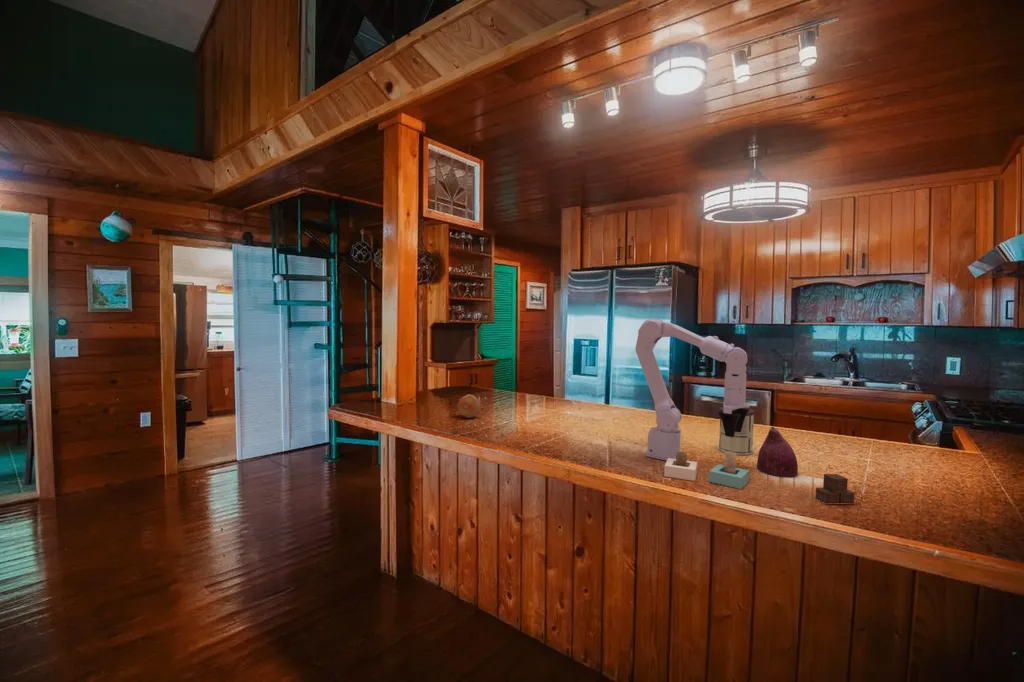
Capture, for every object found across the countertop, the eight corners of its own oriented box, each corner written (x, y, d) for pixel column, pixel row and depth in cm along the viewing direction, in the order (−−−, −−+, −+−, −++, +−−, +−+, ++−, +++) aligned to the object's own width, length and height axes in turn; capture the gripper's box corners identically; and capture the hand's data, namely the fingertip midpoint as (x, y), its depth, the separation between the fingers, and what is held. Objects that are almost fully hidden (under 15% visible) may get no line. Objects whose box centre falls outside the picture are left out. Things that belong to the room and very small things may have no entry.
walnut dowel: (674, 474, 132) (674, 453, 132) (677, 472, 134) (678, 451, 134) (683, 476, 131) (684, 455, 130) (687, 474, 133) (688, 453, 132)
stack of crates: (836, 490, 124) (838, 464, 123) (884, 514, 109) (885, 485, 108) (781, 490, 123) (782, 464, 123) (820, 514, 108) (822, 485, 108)
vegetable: (777, 489, 131) (774, 441, 127) (749, 472, 141) (746, 427, 137) (807, 477, 133) (805, 429, 130) (778, 461, 143) (775, 416, 139)
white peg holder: (664, 476, 131) (664, 465, 130) (667, 468, 138) (668, 458, 138) (694, 481, 127) (695, 470, 127) (696, 472, 134) (697, 461, 134)
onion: (455, 415, 204) (455, 393, 204) (477, 414, 207) (477, 392, 207) (459, 420, 195) (459, 397, 195) (482, 419, 198) (483, 396, 197)
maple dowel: (722, 481, 127) (723, 452, 126) (725, 479, 129) (726, 450, 129) (733, 484, 125) (734, 454, 125) (736, 481, 127) (737, 452, 127)
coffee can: (714, 445, 162) (715, 405, 162) (745, 447, 161) (747, 406, 161) (724, 454, 152) (726, 411, 151) (757, 456, 151) (759, 412, 150)
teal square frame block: (708, 481, 127) (709, 471, 126) (718, 474, 133) (718, 464, 133) (740, 489, 121) (741, 478, 121) (748, 481, 128) (749, 470, 127)
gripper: (743, 393, 130) (741, 441, 131) (756, 387, 141) (754, 431, 142) (716, 390, 135) (714, 436, 136) (731, 384, 146) (729, 428, 147)
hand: (733, 434), depth 139 cm, fingers open, 7 cm apart
